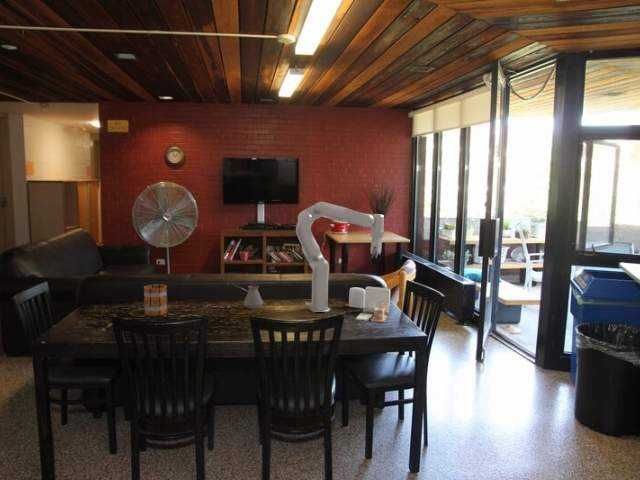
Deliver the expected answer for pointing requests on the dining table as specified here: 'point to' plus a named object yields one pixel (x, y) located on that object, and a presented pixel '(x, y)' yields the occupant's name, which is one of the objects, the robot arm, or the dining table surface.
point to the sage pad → (364, 316)
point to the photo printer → (357, 297)
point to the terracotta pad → (379, 319)
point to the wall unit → (377, 299)
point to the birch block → (379, 313)
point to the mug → (155, 299)
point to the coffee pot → (251, 297)
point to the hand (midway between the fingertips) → (376, 263)
